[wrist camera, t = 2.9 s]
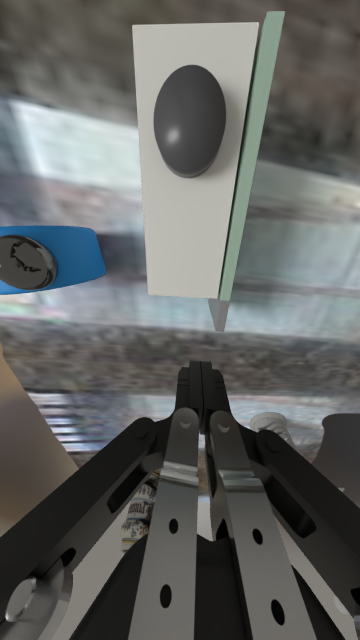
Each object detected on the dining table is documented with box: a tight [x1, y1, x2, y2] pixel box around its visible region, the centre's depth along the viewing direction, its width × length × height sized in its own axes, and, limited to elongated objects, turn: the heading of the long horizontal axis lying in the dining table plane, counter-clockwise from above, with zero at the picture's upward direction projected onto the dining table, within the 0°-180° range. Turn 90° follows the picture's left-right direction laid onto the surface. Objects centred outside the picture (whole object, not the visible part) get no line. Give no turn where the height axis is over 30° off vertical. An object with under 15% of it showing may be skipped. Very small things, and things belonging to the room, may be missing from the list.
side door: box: [208, 11, 285, 332], centre depth 19 cm, size 22×1×10 cm, turn 178°
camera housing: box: [132, 22, 259, 299], centre depth 18 cm, size 18×8×12 cm, turn 178°
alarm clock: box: [0, 226, 106, 295], centre depth 20 cm, size 13×6×15 cm, turn 95°
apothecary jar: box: [120, 472, 160, 554], centre depth 56 cm, size 12×12×18 cm
